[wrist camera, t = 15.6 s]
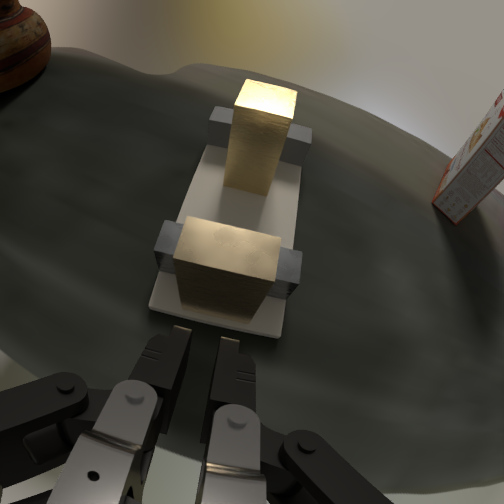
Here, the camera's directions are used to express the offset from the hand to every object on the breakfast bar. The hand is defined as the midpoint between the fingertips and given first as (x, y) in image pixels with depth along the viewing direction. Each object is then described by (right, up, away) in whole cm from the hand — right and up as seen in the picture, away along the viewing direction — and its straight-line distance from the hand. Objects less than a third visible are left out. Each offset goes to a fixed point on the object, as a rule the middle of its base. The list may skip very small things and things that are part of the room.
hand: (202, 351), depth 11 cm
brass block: (+2, +13, +23) cm, 26 cm away
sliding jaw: (-1, +1, +16) cm, 16 cm away
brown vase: (-50, +42, +30) cm, 72 cm away
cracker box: (+35, +14, +31) cm, 49 cm away
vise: (0, +8, +21) cm, 23 cm away
